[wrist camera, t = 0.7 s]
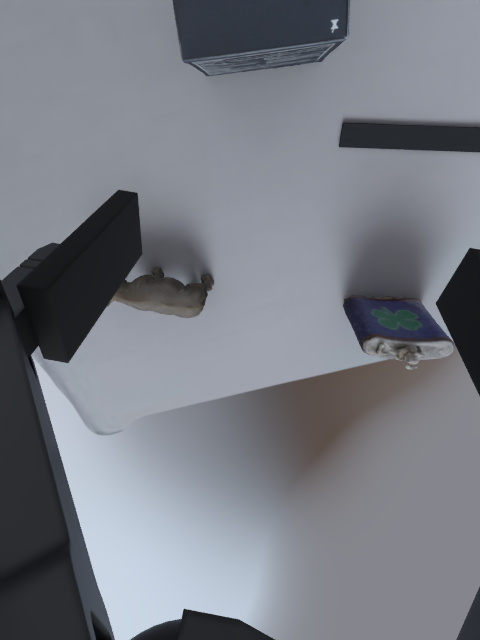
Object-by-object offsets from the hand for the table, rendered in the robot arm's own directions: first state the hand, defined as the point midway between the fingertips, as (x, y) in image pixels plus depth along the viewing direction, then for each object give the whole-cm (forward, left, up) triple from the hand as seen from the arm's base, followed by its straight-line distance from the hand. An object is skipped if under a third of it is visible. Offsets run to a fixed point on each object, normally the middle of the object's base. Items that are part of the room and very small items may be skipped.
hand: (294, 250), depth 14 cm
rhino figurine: (+13, -13, -24) cm, 30 cm away
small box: (-11, -2, -24) cm, 26 cm away
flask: (+15, +14, -24) cm, 32 cm away
